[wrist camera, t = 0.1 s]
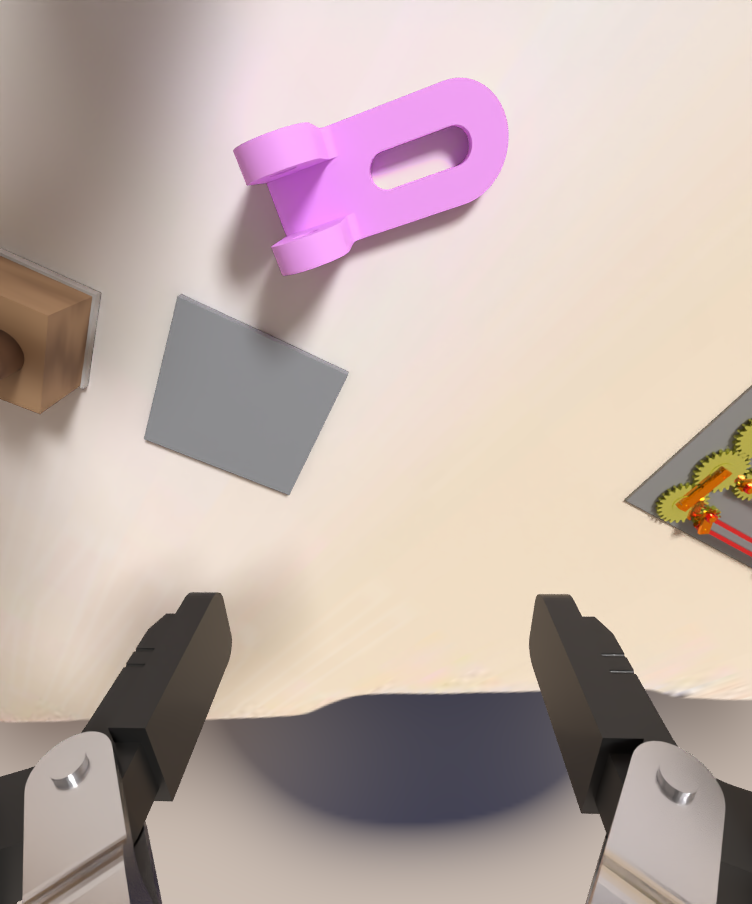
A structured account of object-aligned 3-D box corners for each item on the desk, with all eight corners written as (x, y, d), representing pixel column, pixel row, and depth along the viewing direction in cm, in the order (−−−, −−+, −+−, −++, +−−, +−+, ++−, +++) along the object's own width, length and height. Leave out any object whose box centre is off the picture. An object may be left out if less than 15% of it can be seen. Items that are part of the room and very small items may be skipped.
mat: (181, 294, 29) (177, 296, 29) (348, 371, 32) (347, 375, 31) (147, 435, 35) (144, 438, 35) (290, 490, 38) (289, 495, 37)
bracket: (299, 256, 28) (275, 280, 22) (261, 154, 25) (222, 150, 19) (509, 186, 26) (544, 192, 20) (494, 64, 23) (529, 28, 17)
